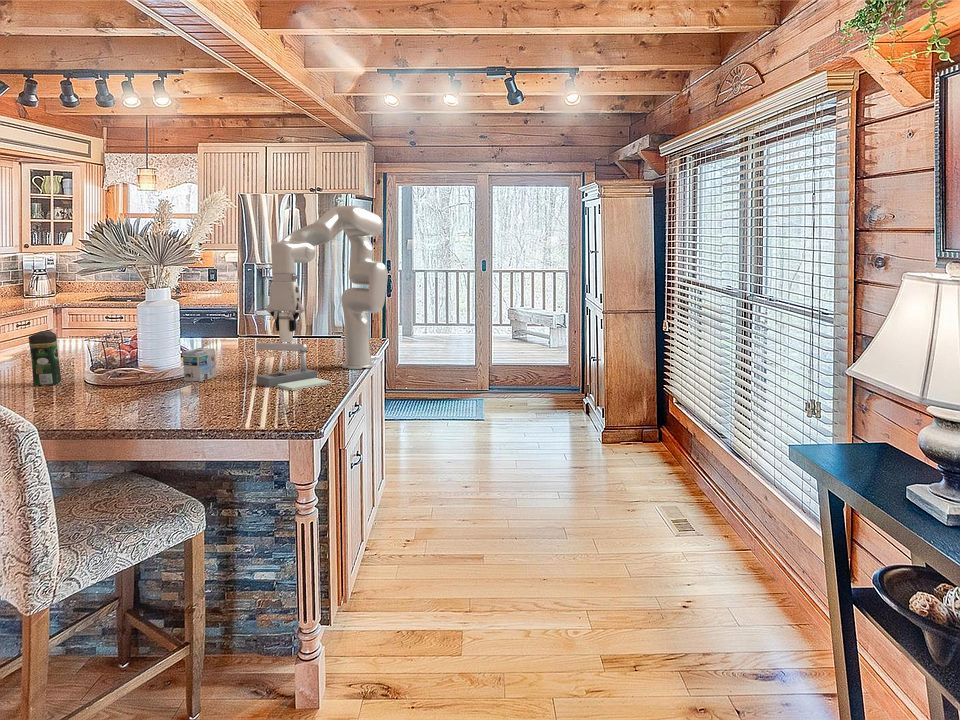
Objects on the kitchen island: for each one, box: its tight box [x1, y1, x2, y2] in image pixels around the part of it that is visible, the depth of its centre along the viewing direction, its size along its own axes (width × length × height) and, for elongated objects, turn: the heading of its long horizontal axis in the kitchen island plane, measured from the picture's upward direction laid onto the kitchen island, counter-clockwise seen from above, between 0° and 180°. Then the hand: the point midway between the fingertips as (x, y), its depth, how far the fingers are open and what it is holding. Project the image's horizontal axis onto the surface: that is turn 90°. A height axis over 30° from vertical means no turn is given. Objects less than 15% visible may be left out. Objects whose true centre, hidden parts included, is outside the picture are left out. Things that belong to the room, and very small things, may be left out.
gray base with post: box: [255, 351, 318, 388], centre depth 258 cm, size 20×8×10 cm, turn 138°
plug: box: [278, 311, 294, 343], centre depth 251 cm, size 4×4×10 cm
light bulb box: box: [182, 347, 217, 383], centre depth 262 cm, size 11×7×11 cm, turn 168°
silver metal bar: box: [255, 342, 308, 352], centre depth 264 cm, size 19×3×2 cm, turn 79°
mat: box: [276, 377, 332, 392], centre depth 252 cm, size 16×9×1 cm, turn 138°
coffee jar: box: [28, 330, 62, 386], centre depth 251 cm, size 10×8×19 cm
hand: (286, 330), depth 251 cm, fingers closed on plug, 4 cm apart
